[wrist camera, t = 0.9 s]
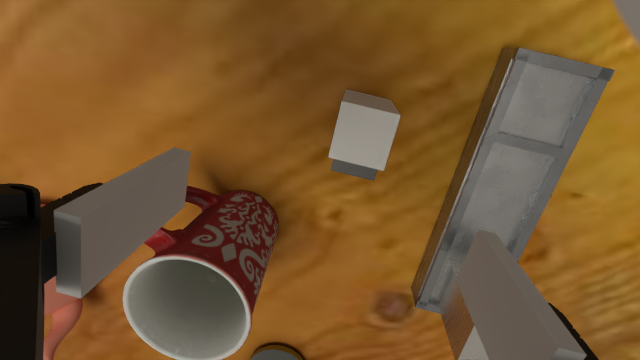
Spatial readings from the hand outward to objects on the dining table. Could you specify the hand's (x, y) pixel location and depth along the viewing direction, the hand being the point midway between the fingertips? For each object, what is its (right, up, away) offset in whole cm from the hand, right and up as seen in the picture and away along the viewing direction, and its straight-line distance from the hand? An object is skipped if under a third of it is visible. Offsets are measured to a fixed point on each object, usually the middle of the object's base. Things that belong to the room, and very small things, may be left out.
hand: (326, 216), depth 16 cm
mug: (-9, -1, +20) cm, 22 cm away
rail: (+15, 0, +17) cm, 23 cm away
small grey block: (+3, +7, +16) cm, 18 cm away
